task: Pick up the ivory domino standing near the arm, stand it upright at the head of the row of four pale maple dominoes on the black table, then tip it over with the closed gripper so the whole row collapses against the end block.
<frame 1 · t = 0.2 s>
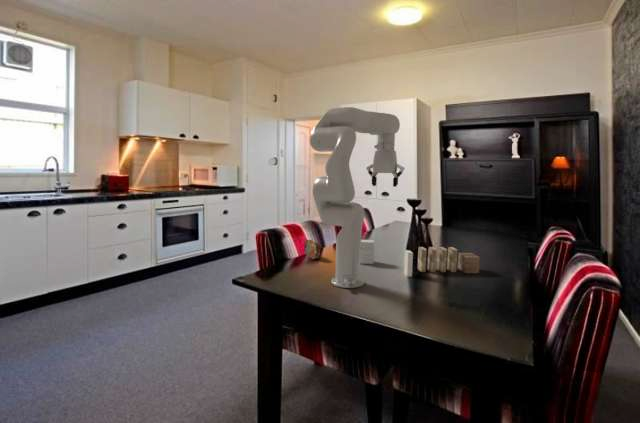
hand: (384, 186, 164), 37 cm above the table, tool pointing down, fingers open, 9 cm apart
tin: (312, 257, 182), on the table
domino 4: (441, 270, 161), on the table
domino 5: (451, 270, 161), on the table
domino 3: (431, 270, 161), on the table
end block: (468, 270, 162), on the table
domino 2: (421, 270, 161), on the table
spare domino: (407, 274, 154), on the table
small box: (365, 262, 173), on the table
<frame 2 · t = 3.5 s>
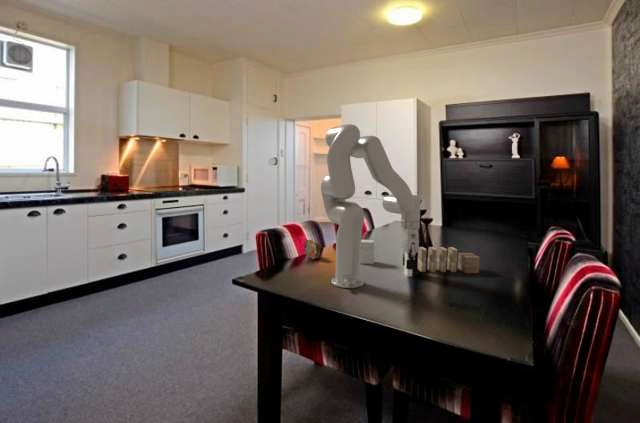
hand: (408, 266, 153), 3 cm above the table, tool pointing down, fingers closed on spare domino, 4 cm apart
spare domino: (407, 274, 154), on the table, touching gripper
everything else where it was.
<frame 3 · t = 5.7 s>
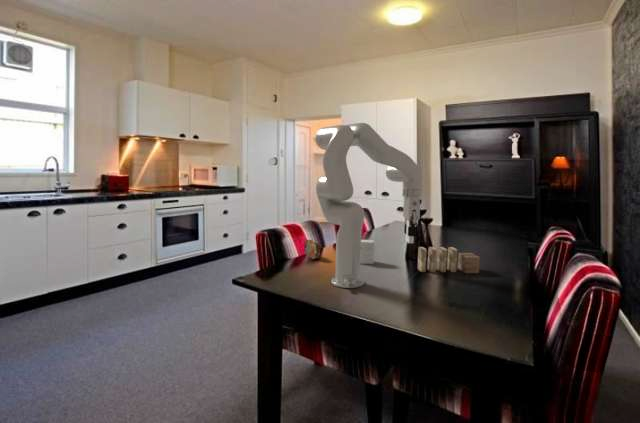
hand: (409, 234, 159), 16 cm above the table, tool pointing down, fingers closed on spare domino, 4 cm apart
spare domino: (409, 242, 159), point 13 cm above the table, touching gripper
everything else where it was.
when the fingers open (4 cm above the table, at t = 8.0 s): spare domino stays where it is, on the table.
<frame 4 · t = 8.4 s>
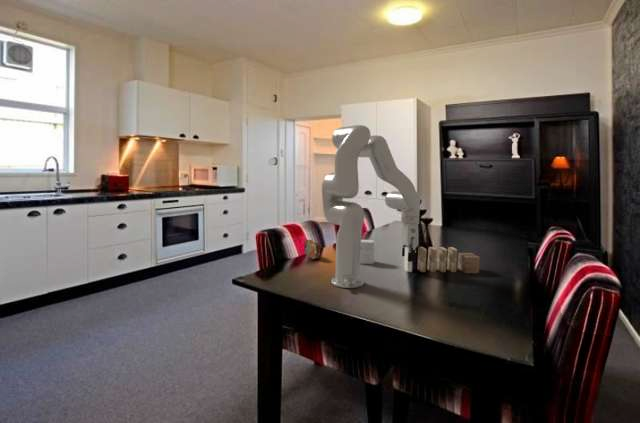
hand: (408, 258, 160), 5 cm above the table, tool pointing down, fingers open, 8 cm apart
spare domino: (407, 270, 161), on the table
everything else where it was.
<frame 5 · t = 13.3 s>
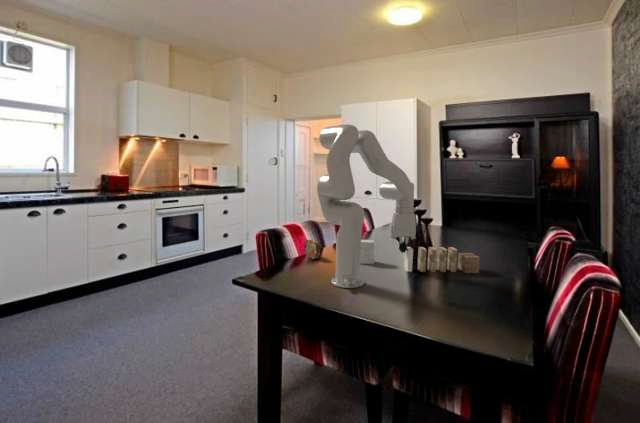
hand: (402, 251, 160), 8 cm above the table, tool pointing down, fingers closed
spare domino: (407, 270, 161), on the table, touching gripper
everything else where it was.
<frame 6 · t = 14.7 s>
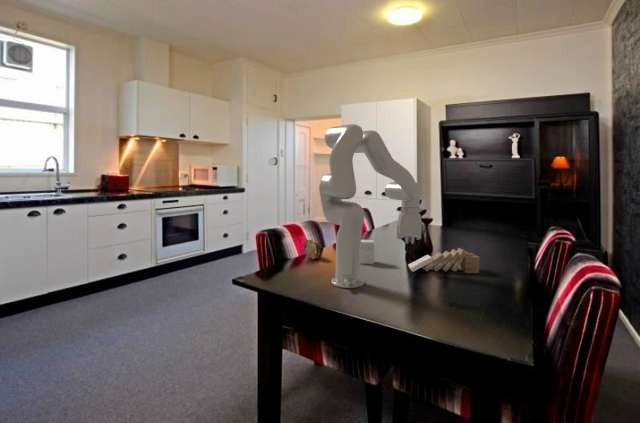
hand: (408, 252, 160), 8 cm above the table, tool pointing down, fingers closed
domino 4: (442, 269, 161), point 1 cm above the table, tilted 38°, touching domino 3, domino 5
domino 5: (451, 269, 161), on the table, tilted 27°, touching domino 4, end block
domino 3: (432, 268, 161), point 1 cm above the table, tilted 46°, touching domino 2, domino 4
domino 2: (423, 268, 161), point 1 cm above the table, tilted 51°, touching domino 3, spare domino
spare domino: (410, 268, 161), point 1 cm above the table, tilted 62°, touching domino 2
everything else where it was.
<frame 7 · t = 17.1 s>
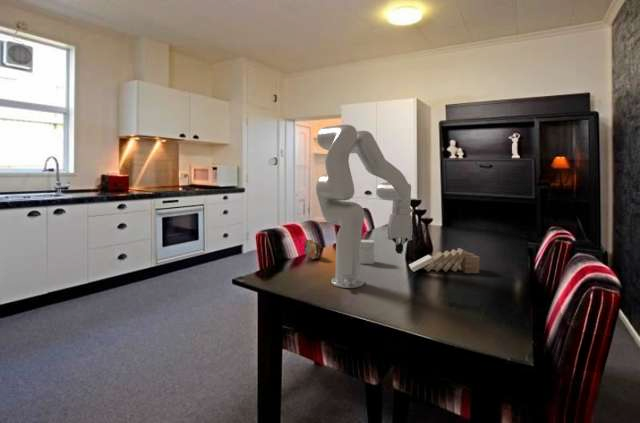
hand: (399, 252, 159), 8 cm above the table, tool pointing down, fingers closed
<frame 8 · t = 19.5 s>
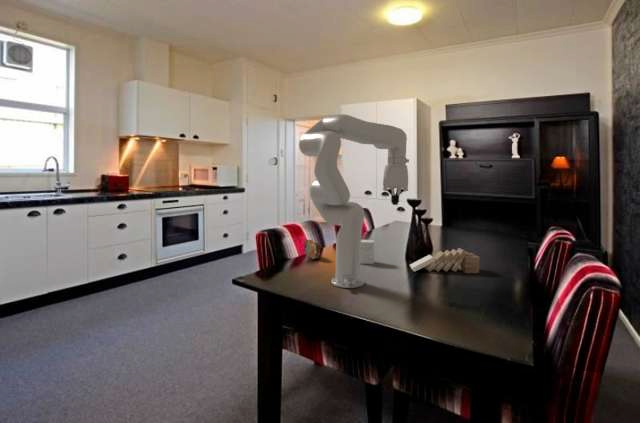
hand: (394, 204, 157), 29 cm above the table, tool pointing down, fingers closed
at the end: domino 5 tilted 27°; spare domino tilted 62°; the gripper is holding nothing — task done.
